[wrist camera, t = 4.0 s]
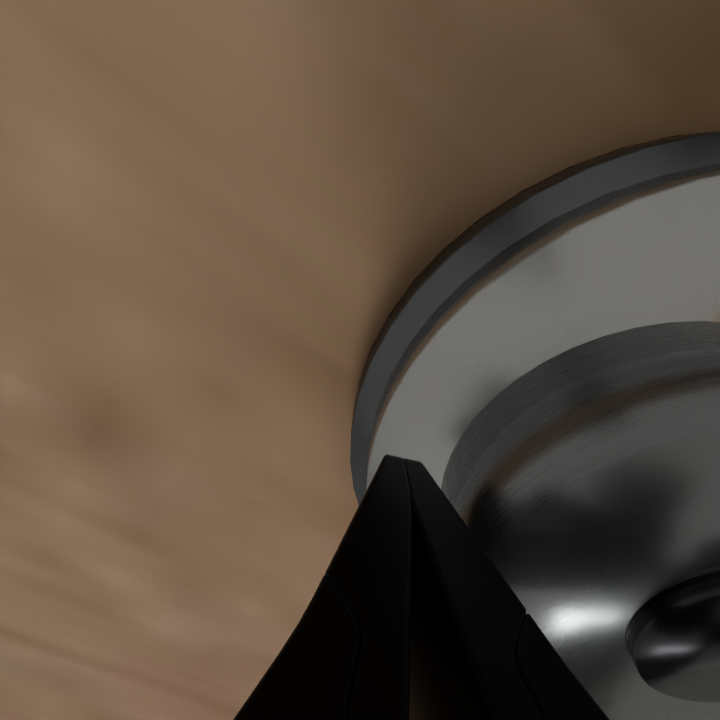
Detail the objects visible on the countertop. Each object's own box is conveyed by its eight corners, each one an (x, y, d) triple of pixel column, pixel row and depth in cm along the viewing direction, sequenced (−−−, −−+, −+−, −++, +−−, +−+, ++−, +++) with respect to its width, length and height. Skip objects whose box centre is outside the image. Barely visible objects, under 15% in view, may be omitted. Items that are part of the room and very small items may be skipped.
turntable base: (705, 642, 16) (724, 671, 15) (308, 560, 15) (304, 585, 14) (1161, 240, 9) (1246, 251, 8) (458, 31, 8) (467, 17, 7)
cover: (687, 637, 12) (787, 799, 9) (394, 573, 12) (398, 725, 8) (969, 387, 8) (1318, 530, 5) (539, 266, 7) (646, 348, 4)
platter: (724, 671, 15) (857, 876, 11) (318, 587, 14) (290, 776, 10) (1221, 276, 8) (2133, 415, 4) (491, 54, 7) (650, -83, 3)
